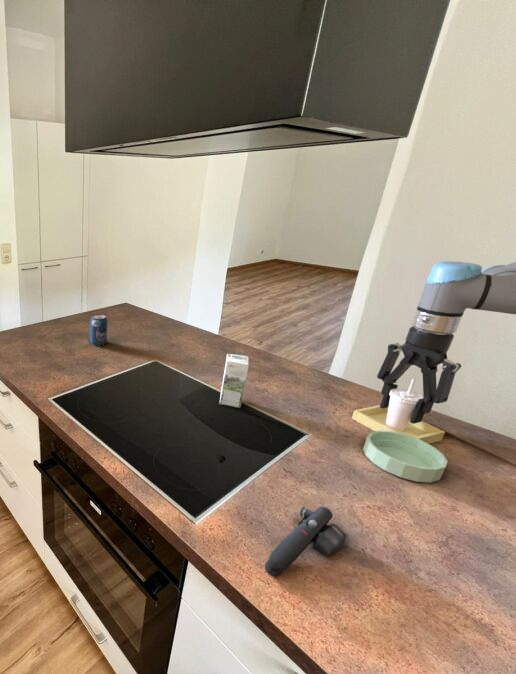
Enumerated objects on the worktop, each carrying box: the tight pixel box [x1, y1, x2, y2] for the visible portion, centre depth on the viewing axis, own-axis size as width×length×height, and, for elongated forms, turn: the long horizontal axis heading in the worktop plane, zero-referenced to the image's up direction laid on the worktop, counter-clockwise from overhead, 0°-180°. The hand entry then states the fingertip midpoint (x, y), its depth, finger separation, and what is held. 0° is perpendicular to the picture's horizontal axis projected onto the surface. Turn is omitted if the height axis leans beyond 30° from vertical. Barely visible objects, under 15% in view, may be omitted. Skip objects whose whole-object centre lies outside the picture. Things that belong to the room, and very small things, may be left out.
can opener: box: [264, 506, 347, 578], centre depth 61 cm, size 18×7×6 cm, turn 118°
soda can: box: [89, 313, 108, 347], centre depth 148 cm, size 7×7×12 cm
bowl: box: [362, 430, 449, 483], centre depth 81 cm, size 13×13×4 cm
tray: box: [351, 404, 446, 445], centre depth 93 cm, size 14×12×3 cm
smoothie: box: [386, 377, 423, 431], centre depth 91 cm, size 6×6×14 cm
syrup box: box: [219, 353, 250, 409], centre depth 104 cm, size 6×6×14 cm
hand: (399, 414), depth 92 cm, fingers closed on smoothie, 6 cm apart
